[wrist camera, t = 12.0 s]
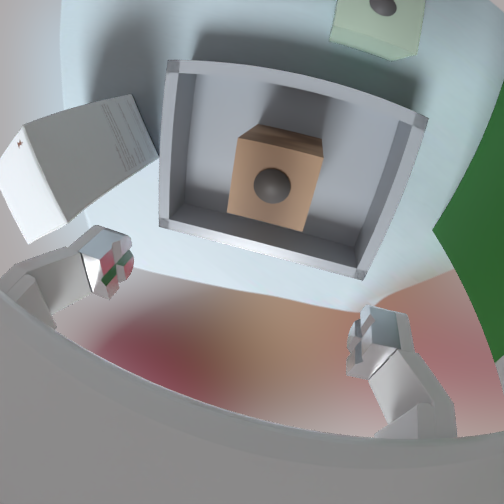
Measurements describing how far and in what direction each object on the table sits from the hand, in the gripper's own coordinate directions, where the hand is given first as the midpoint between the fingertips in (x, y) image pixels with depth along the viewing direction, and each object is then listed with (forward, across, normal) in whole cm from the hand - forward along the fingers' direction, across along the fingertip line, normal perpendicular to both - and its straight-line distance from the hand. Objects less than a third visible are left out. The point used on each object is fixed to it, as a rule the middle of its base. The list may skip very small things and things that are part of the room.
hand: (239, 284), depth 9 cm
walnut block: (+15, +1, 0) cm, 15 cm away
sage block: (+16, -3, -13) cm, 21 cm away
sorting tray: (+16, +1, 0) cm, 16 cm away
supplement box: (+16, +17, +1) cm, 23 cm away
